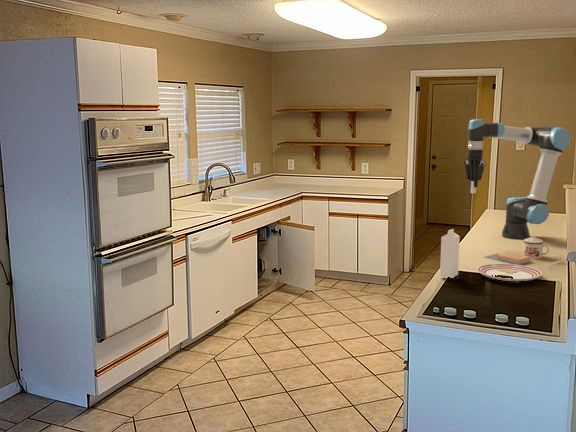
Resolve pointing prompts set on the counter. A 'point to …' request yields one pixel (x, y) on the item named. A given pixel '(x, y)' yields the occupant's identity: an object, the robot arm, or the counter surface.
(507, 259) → the peach box
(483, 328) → the counter surface
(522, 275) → the dinner plate
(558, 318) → the counter surface
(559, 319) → the counter surface
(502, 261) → the mat
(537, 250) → the teacup with lid
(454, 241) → the milk
